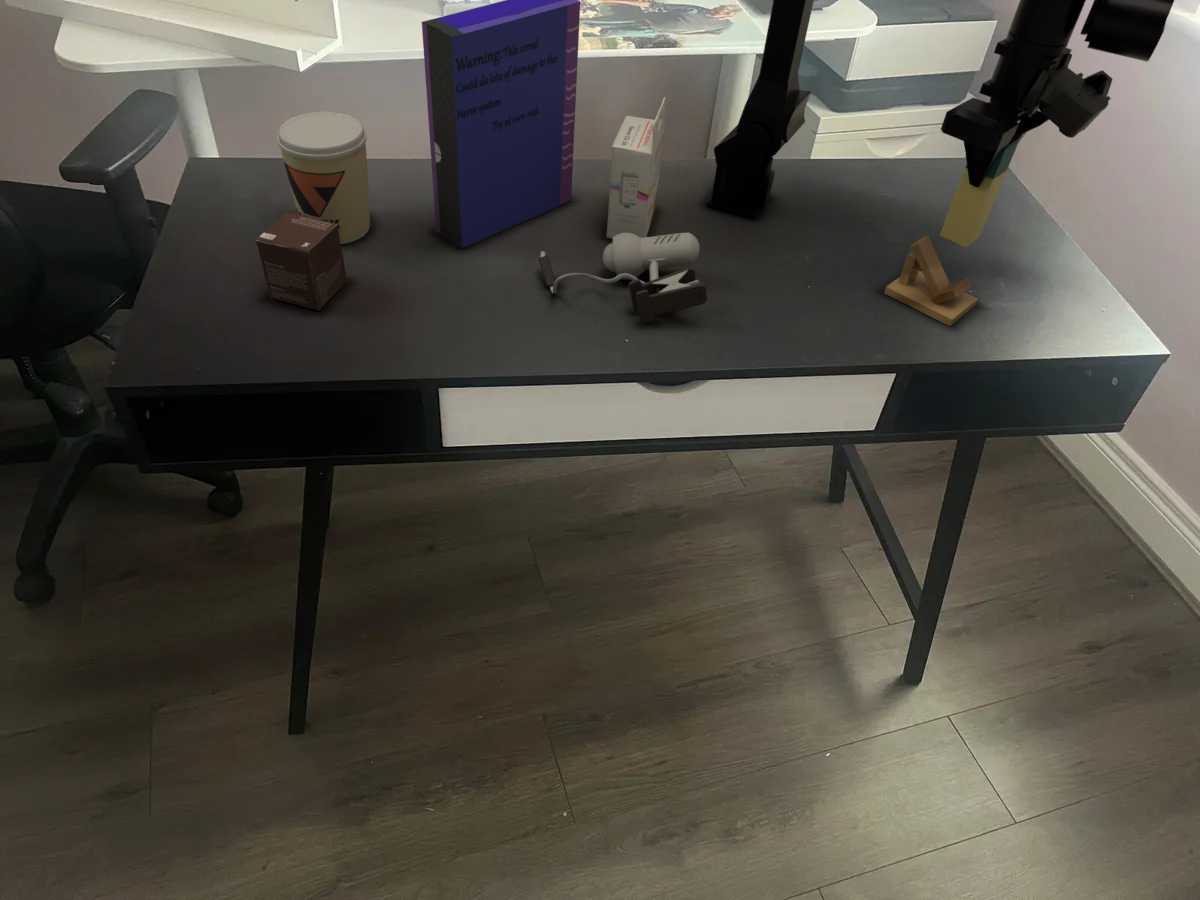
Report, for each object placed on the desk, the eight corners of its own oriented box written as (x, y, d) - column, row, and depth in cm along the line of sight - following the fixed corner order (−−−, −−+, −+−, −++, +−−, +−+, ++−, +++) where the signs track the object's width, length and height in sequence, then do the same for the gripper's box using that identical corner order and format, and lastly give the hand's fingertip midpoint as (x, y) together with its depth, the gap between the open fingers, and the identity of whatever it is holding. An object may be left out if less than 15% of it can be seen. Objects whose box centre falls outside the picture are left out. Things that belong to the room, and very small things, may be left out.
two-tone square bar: (910, 168, 104) (996, 128, 95) (924, 159, 106) (1010, 119, 97) (947, 254, 106) (1035, 222, 97) (961, 243, 108) (1049, 211, 99)
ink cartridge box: (617, 203, 114) (627, 88, 104) (655, 210, 114) (669, 94, 104) (603, 238, 108) (612, 119, 98) (644, 245, 108) (658, 126, 98)
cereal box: (545, 186, 116) (550, -14, 100) (571, 201, 114) (580, -1, 97) (436, 232, 107) (421, 19, 90) (462, 249, 105) (451, 34, 88)
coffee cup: (278, 236, 104) (257, 136, 96) (325, 199, 111) (309, 103, 102) (348, 256, 102) (333, 156, 94) (392, 218, 109) (381, 121, 100)
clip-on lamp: (543, 339, 98) (709, 319, 96) (530, 295, 94) (704, 273, 91) (547, 270, 106) (701, 250, 104) (535, 225, 101) (697, 203, 99)
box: (349, 283, 99) (339, 223, 94) (319, 313, 95) (307, 252, 89) (299, 270, 100) (288, 210, 95) (268, 299, 96) (254, 238, 91)
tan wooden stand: (883, 293, 104) (900, 244, 99) (910, 274, 107) (927, 225, 103) (949, 326, 100) (970, 277, 95) (975, 305, 103) (995, 257, 99)
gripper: (1079, 86, 81) (1012, 239, 92) (1153, 39, 91) (1085, 182, 102) (966, 47, 86) (915, 196, 97) (1048, 7, 96) (994, 146, 107)
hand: (981, 180), depth 101 cm, fingers closed on two-tone square bar, 3 cm apart
